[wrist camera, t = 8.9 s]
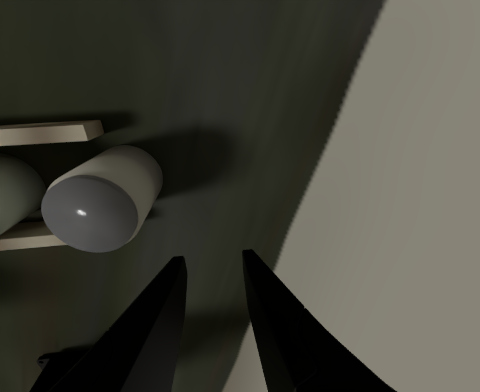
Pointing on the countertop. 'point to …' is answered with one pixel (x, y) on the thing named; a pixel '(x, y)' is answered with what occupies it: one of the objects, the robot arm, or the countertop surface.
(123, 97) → the countertop surface
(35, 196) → the jar in lane
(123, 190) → the jar
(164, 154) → the countertop surface
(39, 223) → the lane
